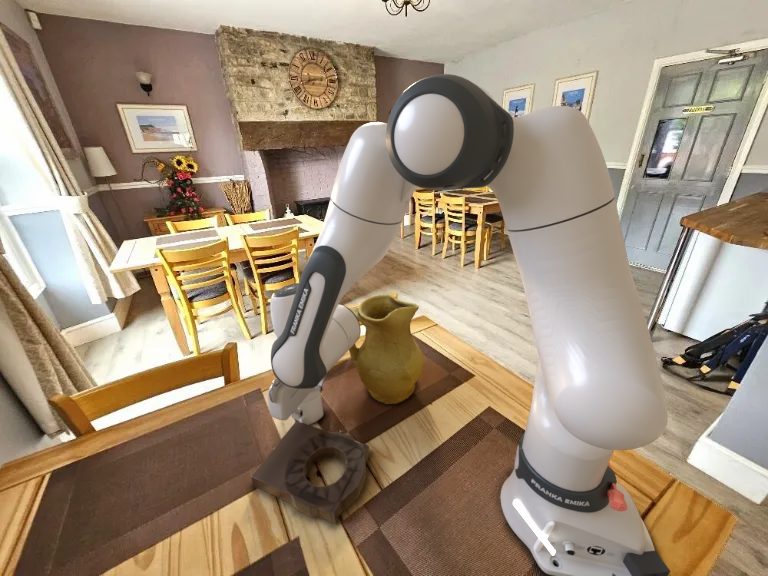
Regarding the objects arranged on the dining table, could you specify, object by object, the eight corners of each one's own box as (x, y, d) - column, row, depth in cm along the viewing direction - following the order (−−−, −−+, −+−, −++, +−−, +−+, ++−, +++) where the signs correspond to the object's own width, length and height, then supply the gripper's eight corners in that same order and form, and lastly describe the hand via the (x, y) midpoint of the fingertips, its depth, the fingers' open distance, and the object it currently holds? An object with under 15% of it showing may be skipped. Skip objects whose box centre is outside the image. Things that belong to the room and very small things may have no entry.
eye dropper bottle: (322, 424, 72) (316, 384, 67) (298, 426, 72) (290, 386, 67) (324, 410, 76) (319, 371, 71) (301, 412, 76) (294, 373, 71)
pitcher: (406, 420, 72) (403, 326, 63) (343, 396, 81) (331, 310, 72) (434, 378, 86) (434, 295, 77) (376, 361, 95) (370, 285, 86)
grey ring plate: (377, 455, 65) (377, 445, 64) (342, 532, 52) (340, 521, 51) (299, 427, 72) (298, 418, 70) (251, 489, 59) (248, 479, 58)
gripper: (281, 391, 57) (292, 444, 62) (337, 333, 74) (342, 378, 80) (254, 383, 59) (267, 434, 65) (314, 328, 76) (321, 373, 82)
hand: (309, 403), depth 72 cm, fingers open, 7 cm apart
